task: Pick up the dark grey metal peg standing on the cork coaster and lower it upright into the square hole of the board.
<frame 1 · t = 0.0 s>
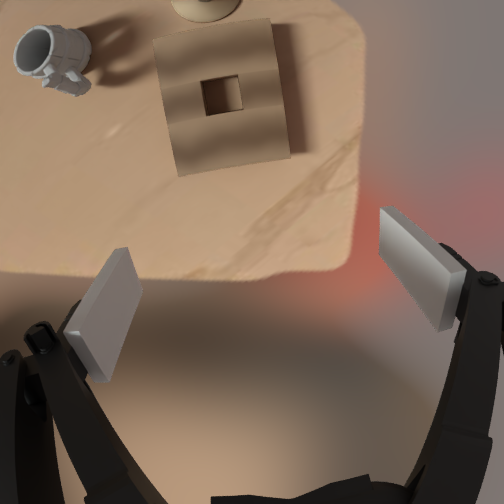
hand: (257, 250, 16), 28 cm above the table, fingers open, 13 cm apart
mug: (77, 64, 33), on the table
hole board: (222, 95, 37), on the table
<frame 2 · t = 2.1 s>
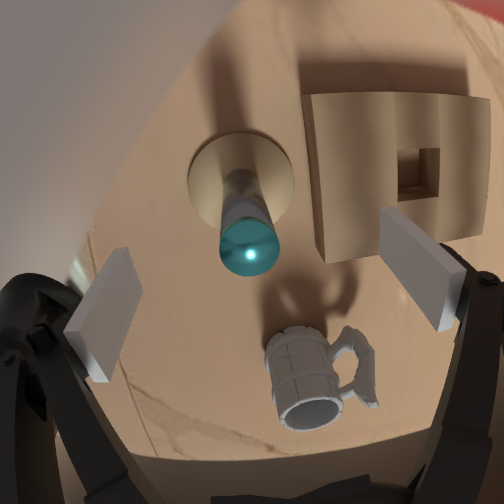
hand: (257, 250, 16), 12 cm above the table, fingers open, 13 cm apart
mug: (310, 338, 36), on the table
hole board: (400, 164, 27), on the table
coaster: (241, 184, 27), on the table
peg: (241, 185, 27), resting on coaster
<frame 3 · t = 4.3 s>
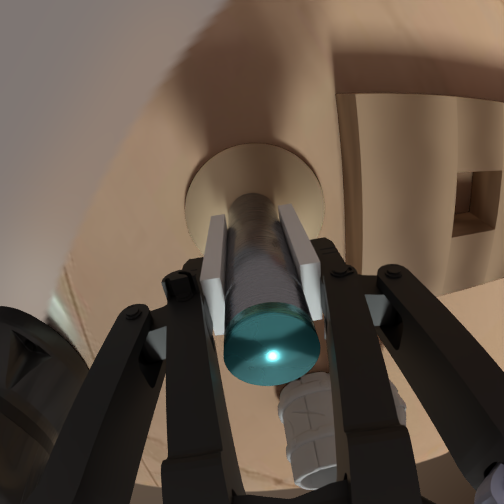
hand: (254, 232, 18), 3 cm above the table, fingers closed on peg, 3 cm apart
mug: (331, 383, 29), on the table
hole board: (451, 187, 20), on the table
coaster: (255, 211, 21), on the table
peg: (252, 215, 20), point 1 cm above the table, touching gripper
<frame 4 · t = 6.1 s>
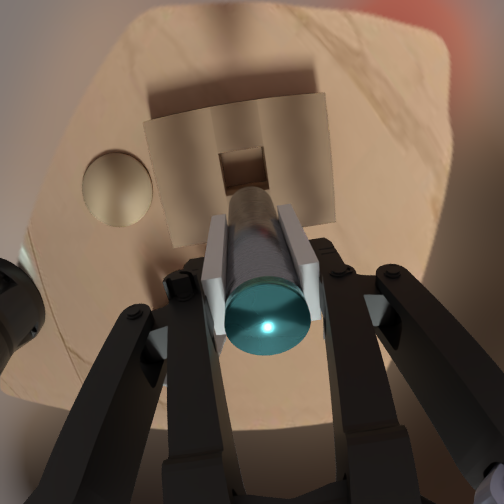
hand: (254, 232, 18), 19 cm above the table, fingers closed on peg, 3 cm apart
hole board: (243, 164, 34), on the table
coaster: (116, 190, 35), on the table
peg: (251, 207, 21), point 14 cm above the table, touching gripper
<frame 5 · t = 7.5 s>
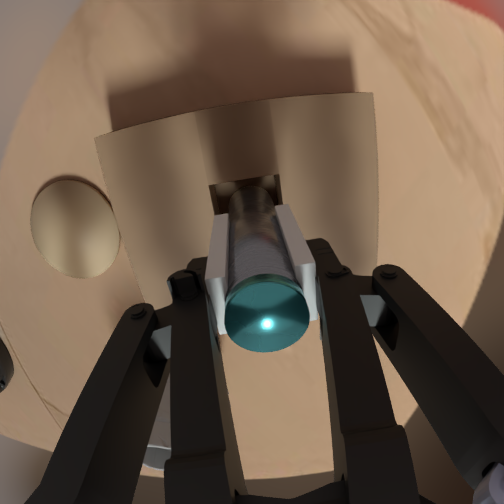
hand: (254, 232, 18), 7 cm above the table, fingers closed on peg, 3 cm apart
mug: (184, 378, 33), on the table
hole board: (246, 196, 24), on the table
coaster: (73, 230, 24), on the table
peg: (251, 206, 22), point 2 cm above the table, touching gripper
when the fingers open (5 cm above the table, at t = 8.5 s): peg stays where it is, resting in hole board.
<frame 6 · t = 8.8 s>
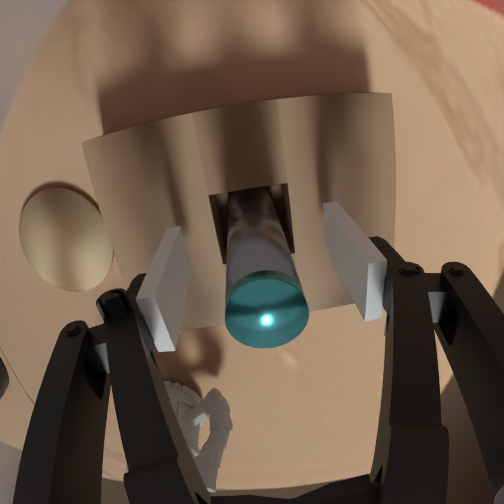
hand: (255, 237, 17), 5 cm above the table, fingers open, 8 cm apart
mug: (184, 393, 31), on the table
hole board: (250, 205, 22), on the table
coaster: (64, 241, 22), on the table
peg: (250, 205, 22), resting in hole board
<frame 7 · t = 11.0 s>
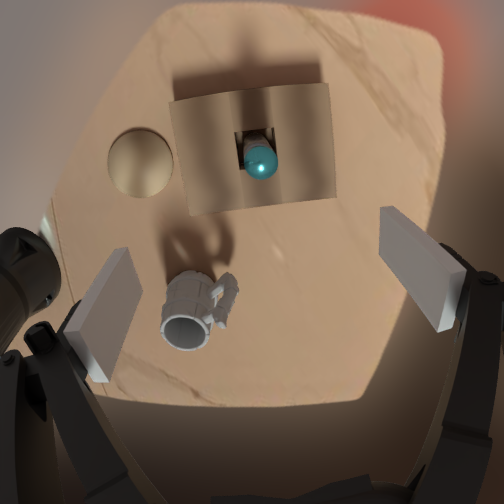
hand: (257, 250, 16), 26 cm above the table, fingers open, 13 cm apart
mug: (204, 283, 47), on the table
hole board: (255, 144, 38), on the table
coaster: (139, 164, 38), on the table
peg: (255, 144, 38), resting in hole board
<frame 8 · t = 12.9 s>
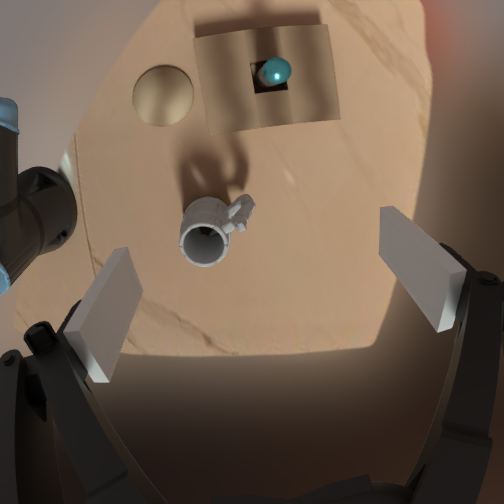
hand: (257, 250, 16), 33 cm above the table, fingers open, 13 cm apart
mug: (219, 210, 49), on the table
hole board: (266, 77, 40), on the table
coaster: (162, 96, 41), on the table
peg: (266, 77, 40), resting in hole board
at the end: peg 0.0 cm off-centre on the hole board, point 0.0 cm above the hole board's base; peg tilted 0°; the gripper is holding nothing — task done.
